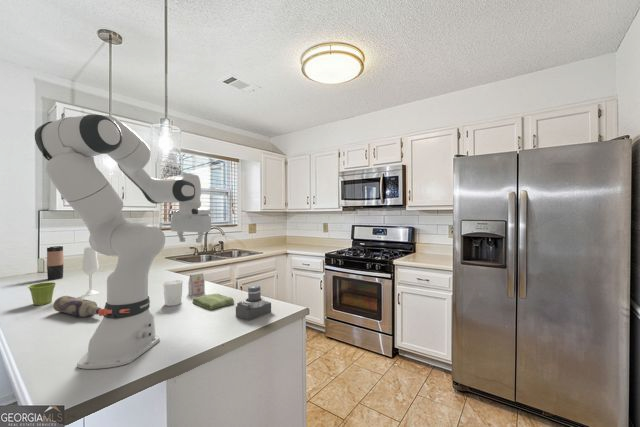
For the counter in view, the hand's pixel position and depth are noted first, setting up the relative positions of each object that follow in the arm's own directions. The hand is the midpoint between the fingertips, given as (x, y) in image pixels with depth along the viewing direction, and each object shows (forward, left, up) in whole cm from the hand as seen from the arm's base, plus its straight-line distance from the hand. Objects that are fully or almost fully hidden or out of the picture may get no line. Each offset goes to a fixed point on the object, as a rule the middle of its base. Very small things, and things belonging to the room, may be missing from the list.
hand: (190, 242), depth 126 cm
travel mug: (+70, +101, -29) cm, 126 cm away
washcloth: (+6, -8, -30) cm, 31 cm away
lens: (-11, -28, -25) cm, 39 cm away
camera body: (-11, -28, -29) cm, 42 cm away
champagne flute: (+31, +58, -29) cm, 72 cm away
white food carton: (+24, +4, -29) cm, 38 cm away
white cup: (+8, +10, -29) cm, 32 cm away
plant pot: (+17, +70, -29) cm, 78 cm away
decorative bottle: (-2, +44, -30) cm, 53 cm away
